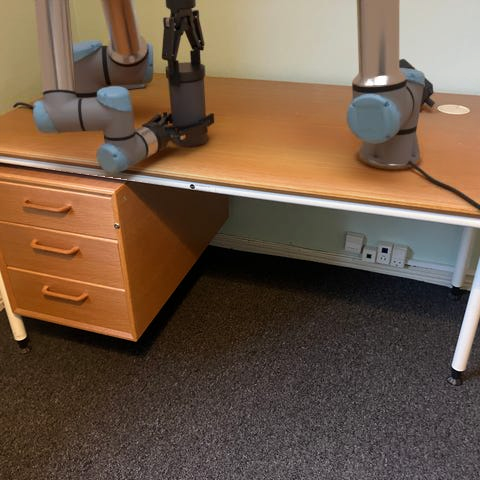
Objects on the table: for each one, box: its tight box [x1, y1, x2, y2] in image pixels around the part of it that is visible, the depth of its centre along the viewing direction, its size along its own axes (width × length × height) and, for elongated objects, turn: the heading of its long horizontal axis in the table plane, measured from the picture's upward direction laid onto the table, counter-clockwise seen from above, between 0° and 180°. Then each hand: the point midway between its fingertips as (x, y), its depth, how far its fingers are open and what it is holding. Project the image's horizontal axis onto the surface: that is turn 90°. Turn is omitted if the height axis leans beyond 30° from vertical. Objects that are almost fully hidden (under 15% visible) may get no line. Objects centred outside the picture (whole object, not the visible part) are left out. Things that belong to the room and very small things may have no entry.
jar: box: [167, 77, 208, 147], centre depth 148 cm, size 10×10×20 cm
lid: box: [165, 61, 206, 81], centre depth 143 cm, size 11×11×2 cm
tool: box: [399, 58, 436, 108], centre depth 172 cm, size 6×19×15 cm, turn 51°
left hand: (197, 115), depth 153 cm, fingers closed on jar, 10 cm apart
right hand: (186, 80), depth 144 cm, fingers closed on lid, 10 cm apart
